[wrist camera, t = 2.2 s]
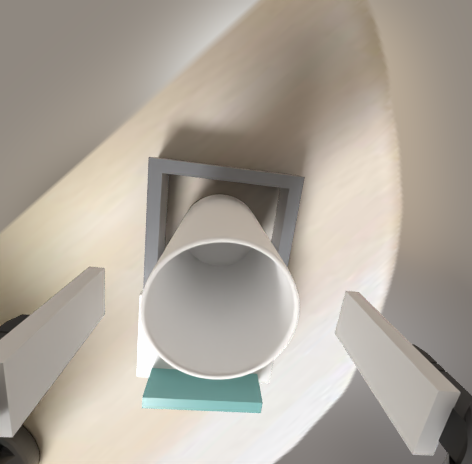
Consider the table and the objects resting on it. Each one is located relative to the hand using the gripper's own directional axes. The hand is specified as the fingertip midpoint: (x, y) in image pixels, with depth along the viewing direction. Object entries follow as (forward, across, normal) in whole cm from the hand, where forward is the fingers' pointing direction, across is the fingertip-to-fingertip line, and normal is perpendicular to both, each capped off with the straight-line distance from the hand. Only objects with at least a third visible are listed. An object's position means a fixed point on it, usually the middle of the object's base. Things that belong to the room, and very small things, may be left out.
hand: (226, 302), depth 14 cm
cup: (+15, 0, 0) cm, 15 cm away
